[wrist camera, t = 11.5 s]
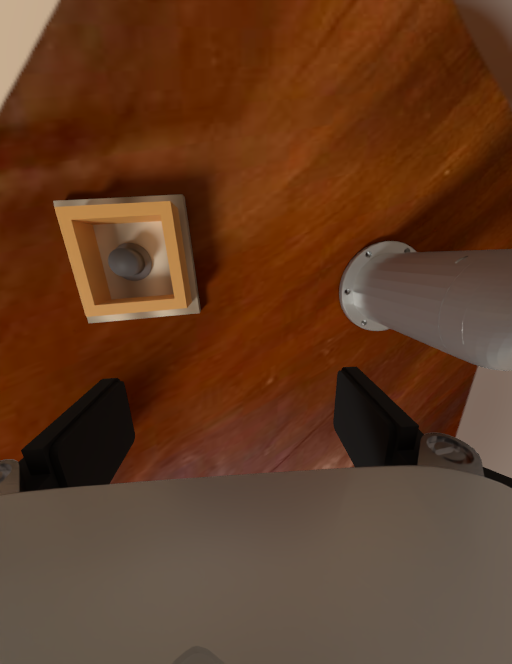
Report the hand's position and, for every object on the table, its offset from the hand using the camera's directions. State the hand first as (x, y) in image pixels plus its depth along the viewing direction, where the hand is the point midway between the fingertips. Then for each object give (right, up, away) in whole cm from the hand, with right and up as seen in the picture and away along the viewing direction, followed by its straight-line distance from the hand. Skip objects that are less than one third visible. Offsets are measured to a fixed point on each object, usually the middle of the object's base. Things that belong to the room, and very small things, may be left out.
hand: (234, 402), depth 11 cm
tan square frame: (-13, +12, +19) cm, 26 cm away
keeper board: (-14, +12, +20) cm, 27 cm away
